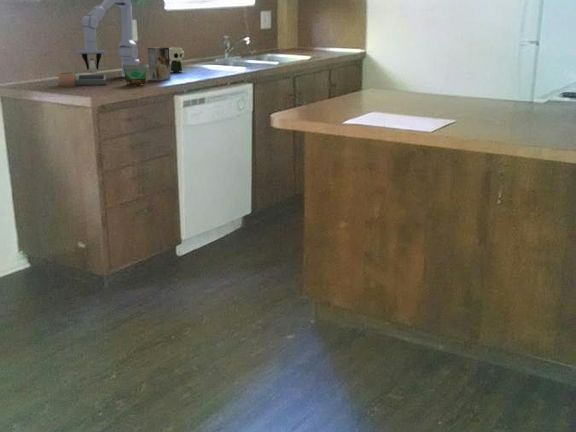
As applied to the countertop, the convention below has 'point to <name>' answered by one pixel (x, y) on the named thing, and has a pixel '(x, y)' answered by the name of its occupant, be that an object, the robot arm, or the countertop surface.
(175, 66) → the big headed figurine
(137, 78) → the food container
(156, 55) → the coffee box
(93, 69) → the cell
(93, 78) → the tray
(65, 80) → the pot
